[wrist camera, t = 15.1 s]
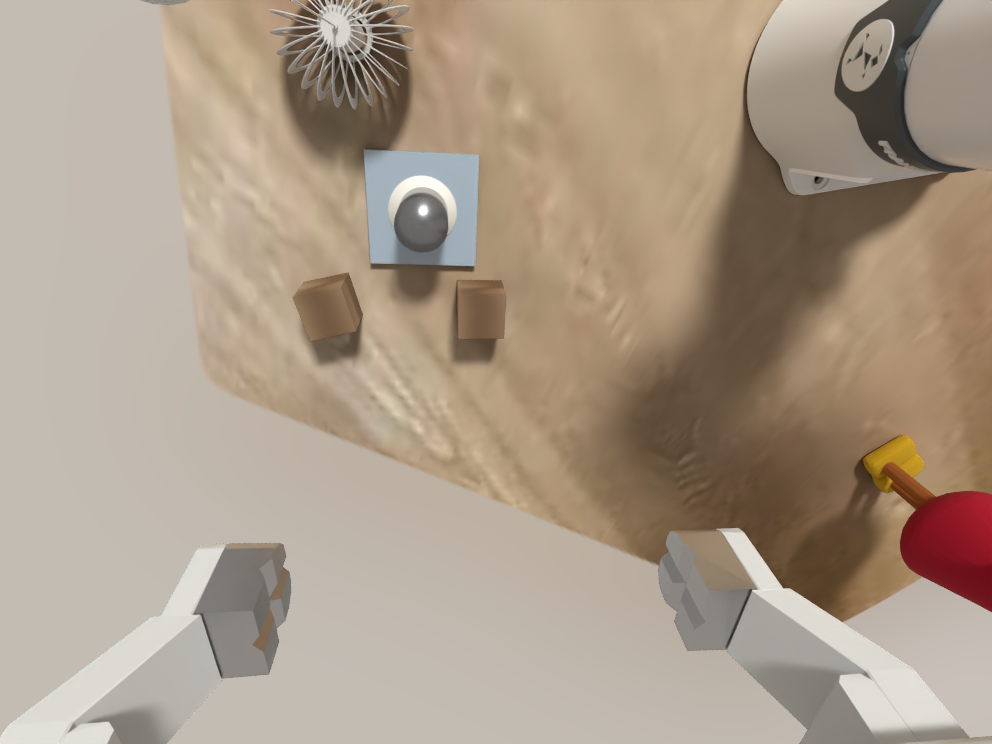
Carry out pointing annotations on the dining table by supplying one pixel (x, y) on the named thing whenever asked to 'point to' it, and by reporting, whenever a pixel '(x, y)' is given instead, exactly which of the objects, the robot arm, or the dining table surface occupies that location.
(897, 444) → the toy
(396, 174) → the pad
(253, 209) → the dining table surface
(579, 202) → the dining table surface
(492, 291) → the walnut cube
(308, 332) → the walnut cube
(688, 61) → the dining table surface
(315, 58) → the pendant light
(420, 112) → the dining table surface
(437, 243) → the metal cylinder
